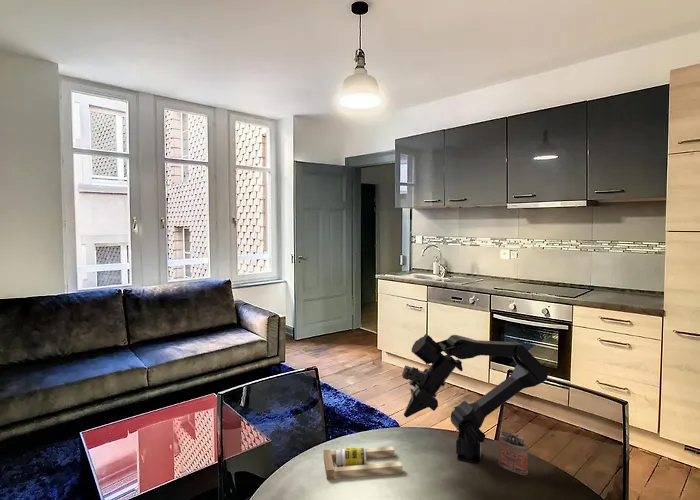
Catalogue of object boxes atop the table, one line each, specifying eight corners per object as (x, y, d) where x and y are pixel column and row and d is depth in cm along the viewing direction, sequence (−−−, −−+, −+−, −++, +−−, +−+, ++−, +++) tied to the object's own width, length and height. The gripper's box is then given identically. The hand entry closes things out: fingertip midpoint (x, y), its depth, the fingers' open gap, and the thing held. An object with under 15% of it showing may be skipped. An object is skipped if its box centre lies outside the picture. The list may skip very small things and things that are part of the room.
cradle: (392, 452, 125) (392, 444, 125) (402, 472, 114) (402, 463, 114) (323, 458, 122) (323, 449, 122) (326, 479, 111) (326, 470, 111)
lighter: (529, 471, 115) (530, 436, 115) (525, 476, 112) (525, 440, 112) (501, 460, 120) (501, 426, 120) (496, 465, 118) (496, 431, 118)
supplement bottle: (366, 457, 115) (336, 458, 114) (366, 470, 117) (336, 471, 116) (365, 443, 119) (336, 444, 119) (364, 456, 121) (335, 457, 121)
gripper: (412, 351, 130) (381, 390, 129) (420, 360, 112) (384, 406, 111) (440, 374, 129) (410, 414, 128) (453, 386, 111) (417, 433, 110)
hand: (405, 416), depth 119 cm, fingers closed
